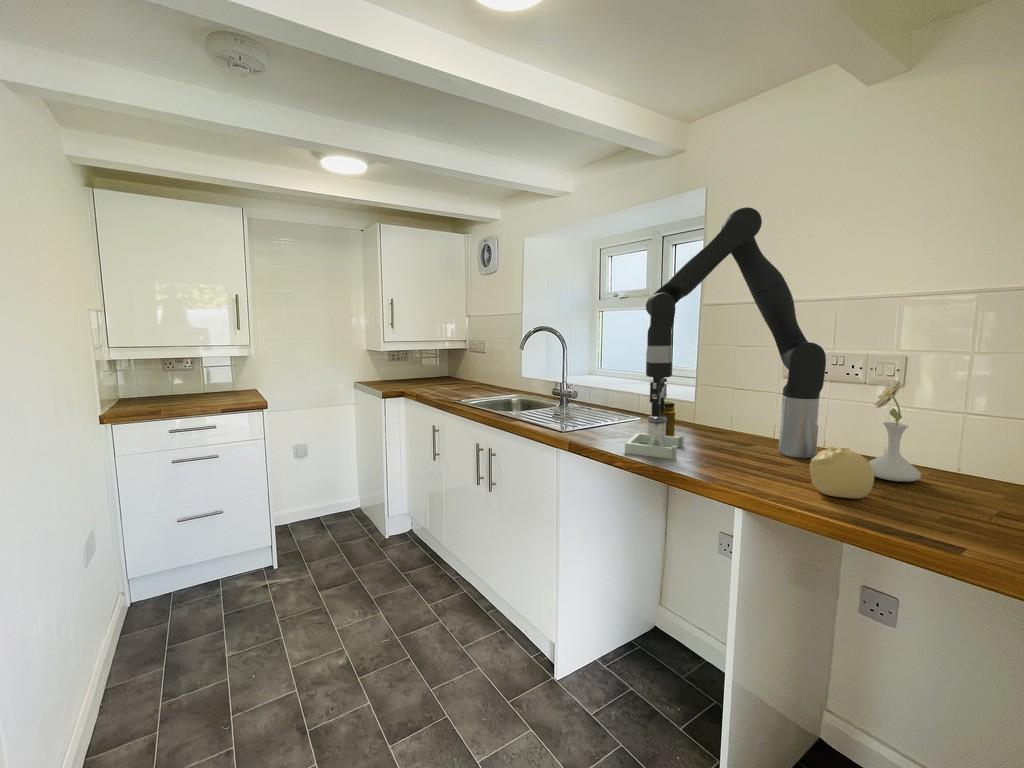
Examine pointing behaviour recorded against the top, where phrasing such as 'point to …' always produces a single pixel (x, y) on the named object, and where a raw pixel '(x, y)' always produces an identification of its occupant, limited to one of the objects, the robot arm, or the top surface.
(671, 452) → the tray
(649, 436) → the shaker
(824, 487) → the cream rounded lump
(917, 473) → the flower in vase
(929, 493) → the top surface
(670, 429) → the condiment
